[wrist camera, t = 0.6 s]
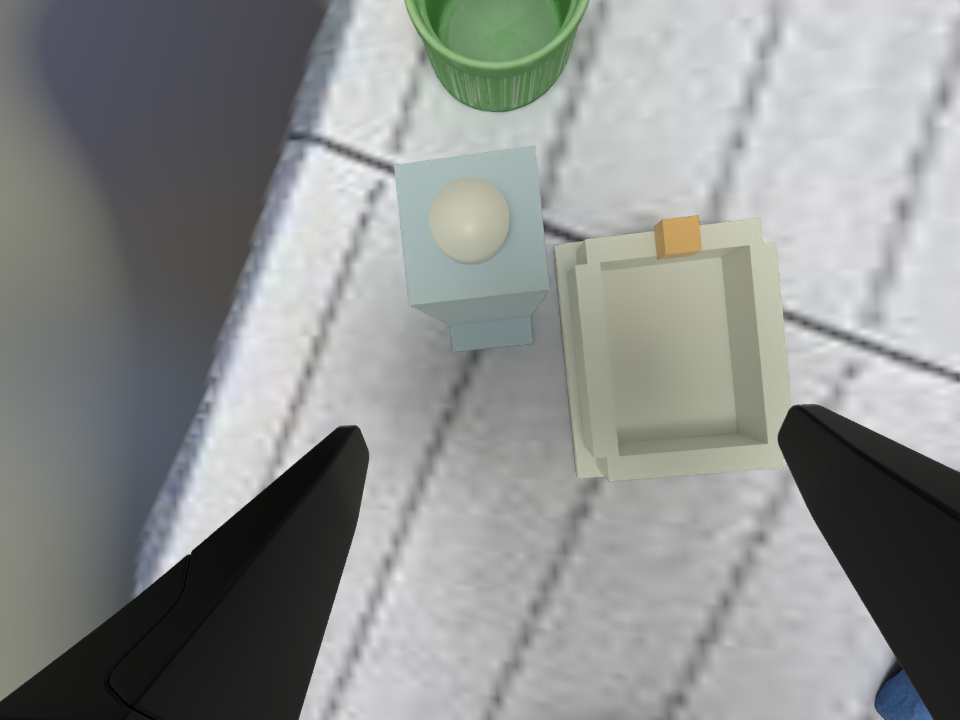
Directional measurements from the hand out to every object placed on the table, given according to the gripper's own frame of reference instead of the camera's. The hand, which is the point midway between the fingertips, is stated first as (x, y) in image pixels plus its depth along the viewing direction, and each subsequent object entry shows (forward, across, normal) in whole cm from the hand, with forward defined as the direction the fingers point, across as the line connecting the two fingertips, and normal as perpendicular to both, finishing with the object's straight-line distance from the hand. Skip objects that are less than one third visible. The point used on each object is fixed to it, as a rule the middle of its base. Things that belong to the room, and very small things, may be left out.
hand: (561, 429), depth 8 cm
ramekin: (+22, +1, -8) cm, 24 cm away
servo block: (+15, +2, +3) cm, 15 cm away
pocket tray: (+12, -7, +7) cm, 16 cm away
